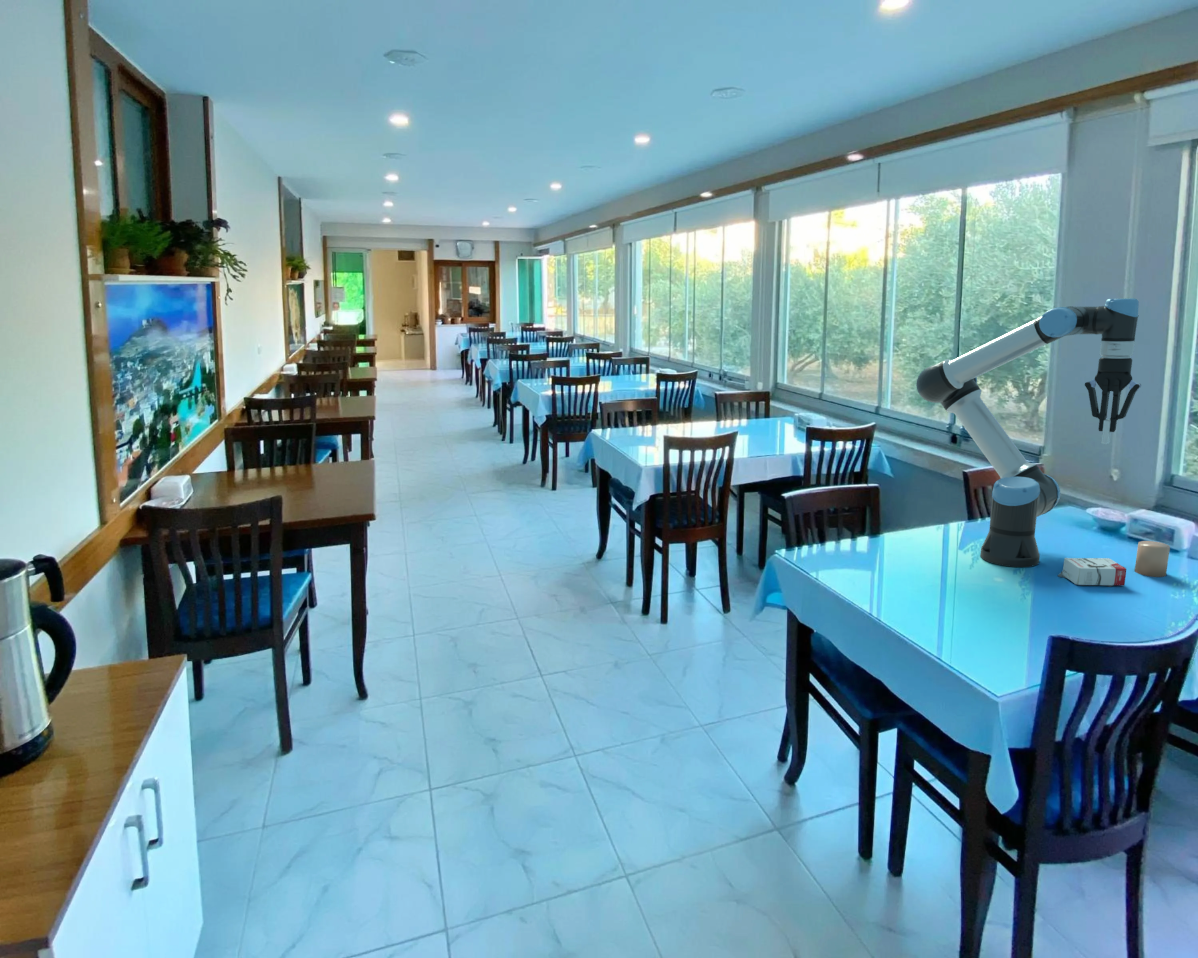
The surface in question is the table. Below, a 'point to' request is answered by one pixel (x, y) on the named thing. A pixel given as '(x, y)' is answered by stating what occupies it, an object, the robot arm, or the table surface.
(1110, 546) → the table surface
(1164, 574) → the beige domed cylinder
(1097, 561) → the ink box
